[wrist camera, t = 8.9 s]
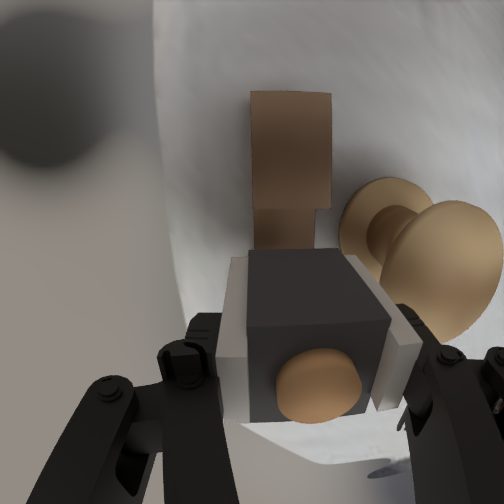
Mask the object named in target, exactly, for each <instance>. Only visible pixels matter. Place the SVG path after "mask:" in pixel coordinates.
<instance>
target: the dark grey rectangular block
mask: <svg viewBox="0 0 504 504" xmlns="http://www.w3.org/2000/svg"><path fill="white" fill-rule="evenodd" d="M391 320H392V318H391V317H390V315H389V314H388V312H387V311H386V310H385V308H384V307H383V306H382V304H381V303H380V302H379V300H378V299H377V298H376V296H375V295H374V294H373V292H372V291H371V290H370V288H369V287H368V286H367V284H366V283H365V282H364V280H363V279H362V278H361V277H360V275H359V274H358V273H357V271H356V270H355V269H354V267H353V266H352V265H351V264H350V262H349V261H348V260H347V259H346V257H345V256H344V255H343V254H342V252H341V251H340V250H339V249H338V248H323V249H264V250H249V252H248V284H247V317H246V335H247V344H248V371H249V396H250V423H258V422H285V421H295V422H299V423H306V424H314V423H322V422H326V421H329V420H332V419H335V418H337V417H340V416H348V415H355V414H362V413H365V411H366V408H367V405H368V402H369V399H370V396H371V395H370V393H371V390H372V387H373V384H374V380H375V377H376V374H377V370H378V367H379V363H380V360H381V356H382V352H383V348H384V344H385V340H386V336H387V332H388V328H390V325H391Z"/></svg>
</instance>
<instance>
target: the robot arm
mask: <svg viewBox="0 0 504 504" xmlns="http://www.w3.org/2000/svg"><path fill="white" fill-rule="evenodd" d="M344 256H345V257H346V259H347V260H348V261H349V262H350V264H351V265H352V266H353V267H354V269H355V270H356V271H357V273H358V274H359V275H360V277H361V278H362V279H363V280H364V282H365V283H366V284H367V286H368V287H369V288H370V290H371V291H372V292H373V294H374V295H375V296H376V298H377V299H378V300H379V302H380V303H381V304H382V306H383V307H384V308H385V310H386V311H387V312H388V314H389V315H390V317H391V318H392V320H391V325H390V328H388V332H387V336H386V340H385V344H384V348H383V352H382V356H381V360H380V363H379V367H378V370H377V374H376V377H375V380H374V384H373V387H372V390H371V393H370V395H371V398H372V400H373V403H374V405H375V408H376V410H377V412H378V411H383V410H389V409H394V408H398V406H399V404H400V402H401V399H402V397H403V396H404V398H405V400H406V402H407V406H406V409H405V411H404V413H403V415H402V417H401V419H400V421H399V423H398V425H397V431H400V429H401V428H402V426H403V424H404V422H405V426H406V427H405V429H404V430H406V432H407V438H408V444H409V451H410V458H411V465H412V473H413V481H414V490H415V501H416V504H504V406H503V408H502V409H501V411H500V412H498V411H496V410H495V409H494V408H495V407H496V405H497V404H498V402H499V400H500V399H501V398H502V399H503V401H504V347H492V348H490V349H489V350H488V351H487V354H486V356H485V358H484V360H475V359H467V358H466V356H465V355H464V354H463V353H462V351H460V350H459V349H457V348H455V347H452V346H450V345H441V344H440V342H439V341H438V340H437V338H436V337H435V336H434V335H433V333H432V332H431V331H430V329H429V328H428V327H427V326H426V325H425V323H424V322H423V321H422V320H421V319H420V317H419V316H418V315H417V313H416V312H415V311H414V310H413V309H412V308H410V307H408V306H407V305H405V304H404V303H401V304H394V302H393V301H392V300H391V298H390V297H389V296H388V295H387V293H386V292H385V291H384V289H383V288H382V287H381V286H380V284H379V283H378V282H377V281H376V279H375V278H374V277H373V276H372V274H371V273H370V272H369V271H368V270H367V268H366V267H365V266H364V265H363V263H362V262H361V261H360V260H359V259H358V257H357V256H356V255H344ZM247 284H248V257H232V258H231V264H230V270H229V276H228V282H227V288H226V294H225V300H224V306H223V312H222V313H198V314H197V315H196V316H194V317H193V318H192V319H191V320H190V323H189V326H188V329H187V332H186V336H185V339H182V340H176V341H173V342H171V343H169V344H166V345H165V346H164V347H163V348H162V349H161V350H159V353H158V355H157V360H158V364H159V367H160V372H161V375H162V379H163V381H161V382H159V383H155V384H152V385H145V386H139V387H133V385H132V382H130V381H129V380H128V379H127V378H125V377H122V376H119V375H114V376H113V375H110V376H106V377H102V378H100V379H98V380H97V381H95V382H94V383H93V384H92V385H91V386H90V387H89V388H88V390H87V392H86V393H85V395H84V396H83V398H82V400H81V402H80V403H79V405H78V407H77V408H76V410H75V412H74V414H73V415H72V417H71V419H70V420H69V422H68V424H67V426H66V427H65V430H64V431H63V433H62V435H61V436H60V438H59V440H58V442H57V444H56V445H55V447H54V449H53V451H52V453H51V455H50V457H49V459H48V460H47V462H46V464H45V466H44V468H43V470H42V472H41V474H40V476H39V478H38V480H37V482H36V484H35V486H34V488H33V490H32V492H31V494H30V496H29V499H28V500H27V503H26V504H142V502H143V498H144V495H145V491H146V488H147V484H148V481H149V478H150V474H151V471H152V467H153V464H154V461H155V457H156V454H157V453H158V452H163V483H164V502H165V504H239V500H238V495H237V491H236V487H235V482H234V477H233V472H232V468H231V463H230V458H229V453H228V448H227V443H226V438H225V433H224V427H223V419H224V423H250V396H249V371H248V344H247V335H246V317H247Z"/></svg>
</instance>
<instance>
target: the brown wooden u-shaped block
mask: <svg viewBox="0 0 504 504" xmlns="http://www.w3.org/2000/svg"><path fill="white" fill-rule="evenodd" d="M250 95H251V140H252V186H253V209H254V249H255V250H264V249H314V237H315V211H316V209H331V184H332V98H331V93H320V92H300V91H250Z"/></svg>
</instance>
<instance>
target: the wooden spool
mask: <svg viewBox="0 0 504 504" xmlns="http://www.w3.org/2000/svg"><path fill="white" fill-rule="evenodd" d="M339 245H340V248H341V252H342V254H343V255H356V256H357V257H358V259H359V260H360V261H361V262H362V263H363V265H364V266H365V267H366V268H367V270H368V271H369V272H370V273H371V274H372V276H373V277H374V278H375V279H376V281H377V282H378V283H379V284H380V286H381V287H382V288H383V289H384V291H385V292H386V293H387V295H388V296H389V297H390V298H391V300H392V301H393V302H394V304H401V303H404V304H405V305H407V306H408V307H410V308H412V309H413V310H414V311H415V312H416V313H417V315H418V316H419V317H420V319H421V320H422V321H423V322H424V323H425V325H426V326H427V327H428V328H429V329H430V331H431V332H432V333H433V335H434V336H435V337H436V338H437V340H438V341H439V342H440V344H442V343H445V342H448V341H450V340H452V339H454V338H455V337H457V336H458V335H460V334H462V333H463V332H464V331H465V330H467V329H468V328H469V327H470V326H471V325H472V324H473V323H474V322H475V321H476V320H477V319H478V318H479V317H480V316H481V314H482V313H483V312H484V311H485V309H486V308H487V306H488V304H489V303H490V301H491V299H492V297H493V295H494V293H495V291H496V289H497V286H498V283H499V280H500V277H501V272H502V267H503V243H502V238H501V234H500V232H499V229H498V227H497V225H496V223H495V221H494V220H493V219H492V217H491V216H490V215H489V214H488V213H487V212H485V211H484V210H482V209H481V208H479V207H476V206H474V205H471V204H469V203H466V202H463V201H457V200H453V201H444V202H440V203H437V204H434V205H433V203H432V201H431V199H430V198H429V196H428V195H427V194H426V193H425V192H424V191H423V190H422V189H421V188H420V187H418V186H417V185H415V184H413V183H411V182H408V181H405V180H402V179H399V178H381V179H378V180H374V181H372V182H370V183H368V184H366V185H365V186H363V187H362V188H361V189H359V190H358V191H357V192H356V193H355V194H354V195H353V196H352V198H351V199H350V200H349V202H348V203H347V205H346V207H345V209H344V211H343V214H342V216H341V220H340V224H339Z"/></svg>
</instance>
